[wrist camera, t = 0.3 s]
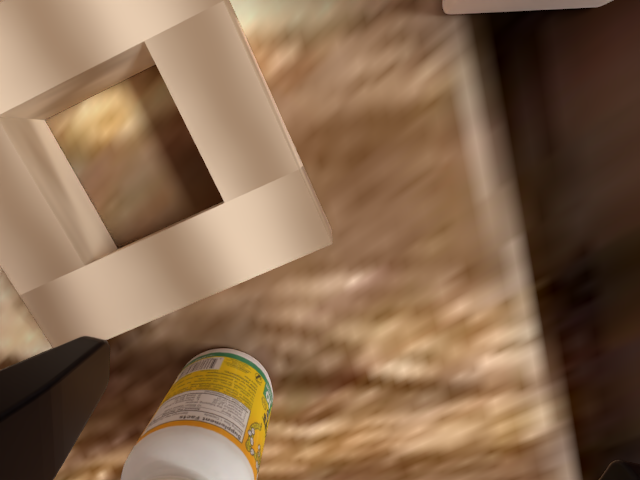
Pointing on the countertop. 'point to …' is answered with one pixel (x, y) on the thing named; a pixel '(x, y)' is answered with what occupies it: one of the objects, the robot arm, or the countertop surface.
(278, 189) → the socket block
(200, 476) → the supplement bottle
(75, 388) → the robot arm
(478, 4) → the medicine bottle
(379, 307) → the countertop surface
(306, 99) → the countertop surface
